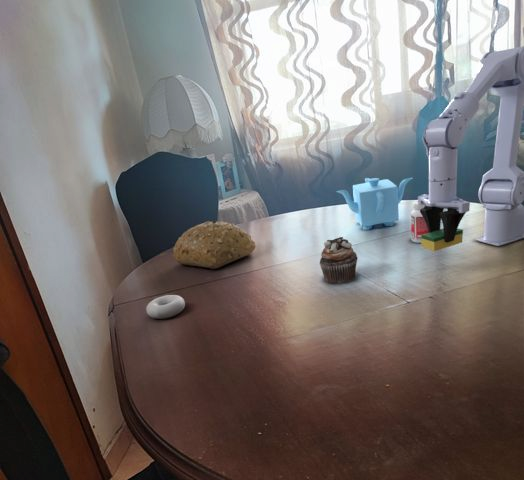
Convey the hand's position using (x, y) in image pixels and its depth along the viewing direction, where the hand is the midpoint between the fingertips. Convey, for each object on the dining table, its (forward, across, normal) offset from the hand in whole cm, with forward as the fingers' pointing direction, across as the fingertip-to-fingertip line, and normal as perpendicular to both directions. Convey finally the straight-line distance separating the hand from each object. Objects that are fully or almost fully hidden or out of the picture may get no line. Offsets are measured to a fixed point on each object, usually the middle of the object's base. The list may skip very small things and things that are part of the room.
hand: (441, 239), depth 108 cm
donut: (+8, -27, -63) cm, 69 cm away
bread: (+8, -60, -40) cm, 73 cm away
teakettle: (+8, -50, +15) cm, 53 cm away
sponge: (+1, 0, 0) cm, 1 cm away
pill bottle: (+8, -23, +13) cm, 28 cm away
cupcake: (+8, -15, -19) cm, 26 cm away
